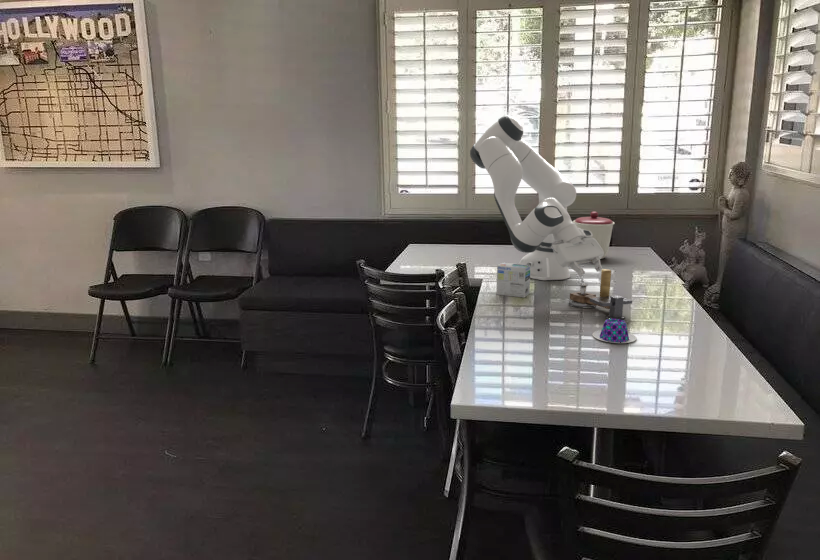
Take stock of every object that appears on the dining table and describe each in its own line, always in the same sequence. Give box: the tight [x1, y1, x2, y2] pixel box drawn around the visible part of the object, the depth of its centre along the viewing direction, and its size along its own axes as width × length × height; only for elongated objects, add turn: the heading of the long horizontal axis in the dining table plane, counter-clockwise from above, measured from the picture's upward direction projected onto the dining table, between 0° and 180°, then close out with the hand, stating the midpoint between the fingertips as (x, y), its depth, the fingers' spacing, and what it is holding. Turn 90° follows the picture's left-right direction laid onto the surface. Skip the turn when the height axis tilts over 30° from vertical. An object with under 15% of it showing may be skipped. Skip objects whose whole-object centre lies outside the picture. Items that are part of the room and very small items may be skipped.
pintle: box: [568, 282, 597, 308], centre depth 221 cm, size 9×9×7 cm
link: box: [569, 268, 612, 310], centre depth 215 cm, size 18×6×12 cm, turn 33°
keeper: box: [590, 294, 633, 321], centre depth 207 cm, size 8×11×7 cm
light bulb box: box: [495, 262, 531, 298], centre depth 234 cm, size 11×7×11 cm, turn 65°
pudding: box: [592, 318, 637, 344], centre depth 187 cm, size 12×12×5 cm
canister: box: [572, 211, 615, 260], centre depth 298 cm, size 18×18×21 cm
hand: (591, 272), depth 219 cm, fingers open, 8 cm apart
